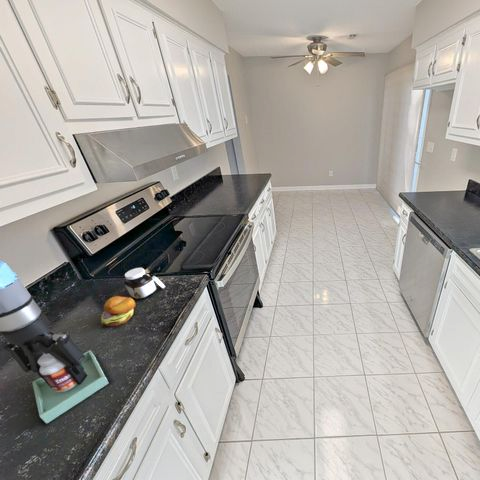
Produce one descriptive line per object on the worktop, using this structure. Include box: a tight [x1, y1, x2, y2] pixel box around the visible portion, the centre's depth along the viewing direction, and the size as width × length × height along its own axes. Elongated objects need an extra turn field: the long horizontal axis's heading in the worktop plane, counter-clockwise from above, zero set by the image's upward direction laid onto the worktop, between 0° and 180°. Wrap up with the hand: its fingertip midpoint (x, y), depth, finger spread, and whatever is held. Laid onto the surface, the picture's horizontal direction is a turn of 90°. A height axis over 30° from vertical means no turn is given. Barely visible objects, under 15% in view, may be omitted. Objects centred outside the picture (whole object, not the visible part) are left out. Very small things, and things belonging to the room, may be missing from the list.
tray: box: [32, 349, 110, 425], centre depth 72 cm, size 15×13×3 cm
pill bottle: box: [38, 353, 77, 392], centre depth 69 cm, size 6×6×11 cm
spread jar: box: [124, 267, 167, 301], centre depth 108 cm, size 12×11×12 cm
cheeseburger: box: [100, 295, 137, 327], centre depth 95 cm, size 10×11×10 cm
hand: (69, 381), depth 71 cm, fingers closed on pill bottle, 6 cm apart
